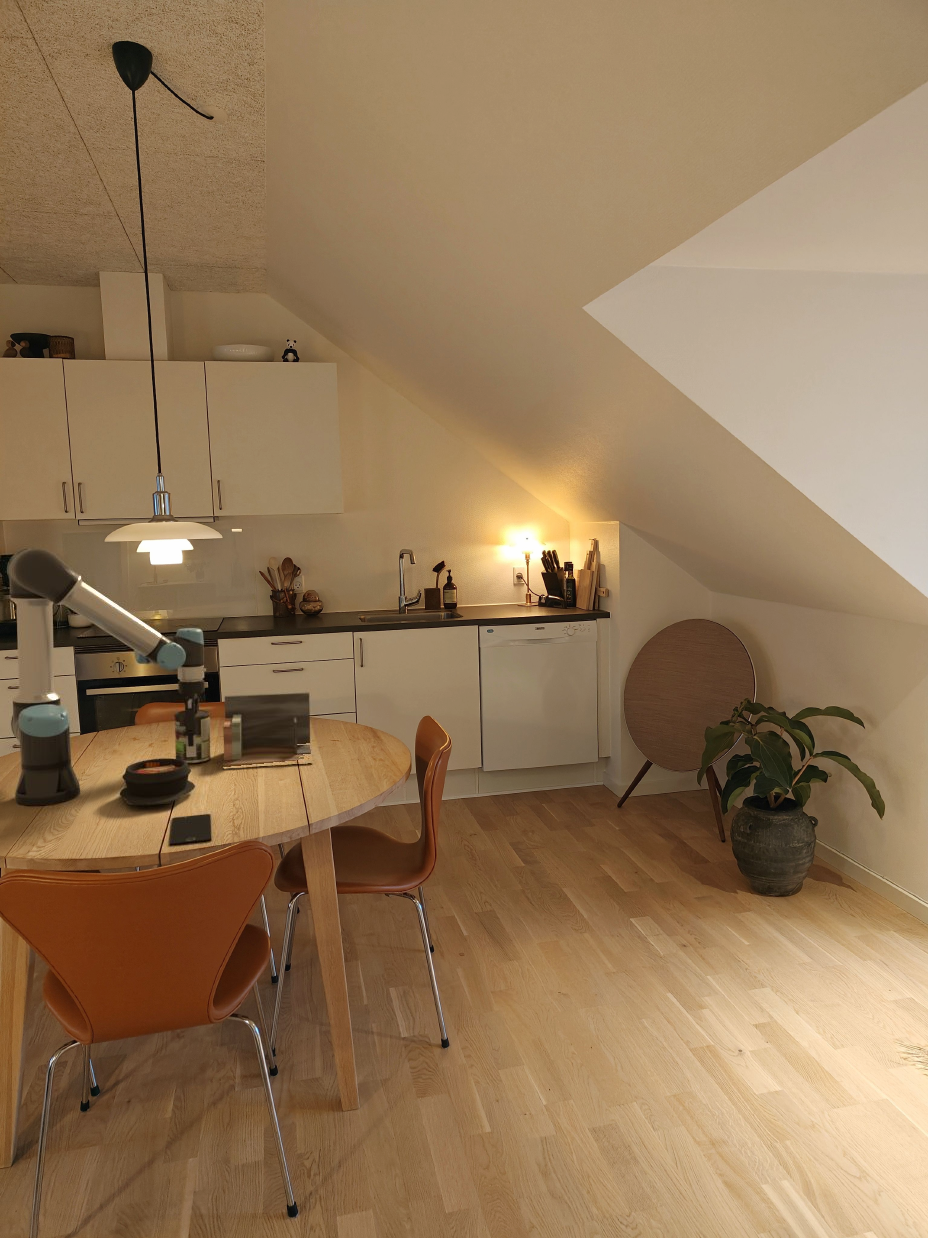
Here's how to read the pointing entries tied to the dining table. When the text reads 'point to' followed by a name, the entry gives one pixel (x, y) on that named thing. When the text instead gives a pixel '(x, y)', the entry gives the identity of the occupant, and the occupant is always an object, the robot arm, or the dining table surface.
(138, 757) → the dining table surface
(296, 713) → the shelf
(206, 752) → the coffee can
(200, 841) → the cell phone
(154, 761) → the casserole
